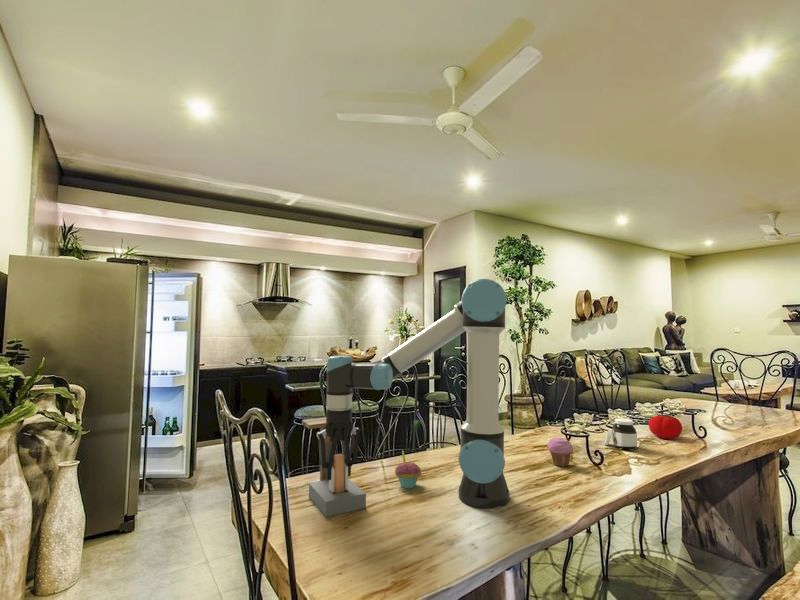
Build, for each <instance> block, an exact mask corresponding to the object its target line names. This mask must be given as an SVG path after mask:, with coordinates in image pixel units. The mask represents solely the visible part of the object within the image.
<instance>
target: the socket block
mask: <svg viewBox="0 0 800 600" xmlns="http://www.w3.org/2000/svg"><path fill="white" fill-rule="evenodd" d="M308 497H309V498H310V500H311V501H312V503H314V505H315V506H316V507H317V509H318V510H319V511H320V512H321V513H322V514H323V516H324V518H327V517H331V516H332V517H333V516H337V515H340V514H344V513H349V512H353V511H358V510H363V509H366V508H367V493H366V492H365V491H364V490H363V489H361V488H360V487H359V486H358V485H357V484H355V483H354V482H353V481H352V480H351V479H350V478H348V489H347V490H345V489H344V493H339V494H333V492H331V491H330V490H329V480H323V481H320V480H319V481H314V482H313V481H312V482H309V483H308Z"/></svg>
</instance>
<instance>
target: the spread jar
mask: <svg viewBox="0 0 800 600" xmlns="http://www.w3.org/2000/svg"><path fill="white" fill-rule="evenodd" d="M611 439H612V442H613V445H614V447H615V446H616V447H615V448H617V447H618V448H617V449H619V448H622V449H621V450H623V449H633V450H636V448H637V447H638V433H637V430H636V427H635V426H634V421H633V420H632V419H629V418H615V419H614V424H613V426H612V430H611V429H608V431H607V433H606V436H605V440H604V443H603V444H604V445H605V446H607V445H608V446H609V443H610V442H611Z"/></svg>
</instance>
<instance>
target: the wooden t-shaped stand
mask: <svg viewBox="0 0 800 600" xmlns="http://www.w3.org/2000/svg"><path fill="white" fill-rule="evenodd" d="M301 424H302V425H303V426H304V427H306V428H307V429H308V430H312V429H319V430H320V431H319V432H321V431H323V430H325V426H326V416H325V417H318V418H310V419H309V418H308V419H301ZM325 436H326V437H325V439H324V440H325V452H326V459H327V453H328V447H329V438H330V437H329V436H328V435H327V433H326V435H325ZM323 480H327V479H326V468H323V467H322V466H321V465H320V464H319V481H323Z"/></svg>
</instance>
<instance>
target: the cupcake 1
mask: <svg viewBox="0 0 800 600" xmlns="http://www.w3.org/2000/svg"><path fill="white" fill-rule="evenodd" d="M401 454H402V460H403V463H400V464H398V465H397V466H396V467H395V471H394V475H395V476H396V477H397V478H398V481H399V484H400V487H401V488H404V489H413V488H415V487H416V484H417V480H418V478H419V477H421V476H422V470H421V468H420V466H419V465H418V464H416V463H415V462H407V461H406V456H405V451H404V450H403V448H402V450H401Z"/></svg>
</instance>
